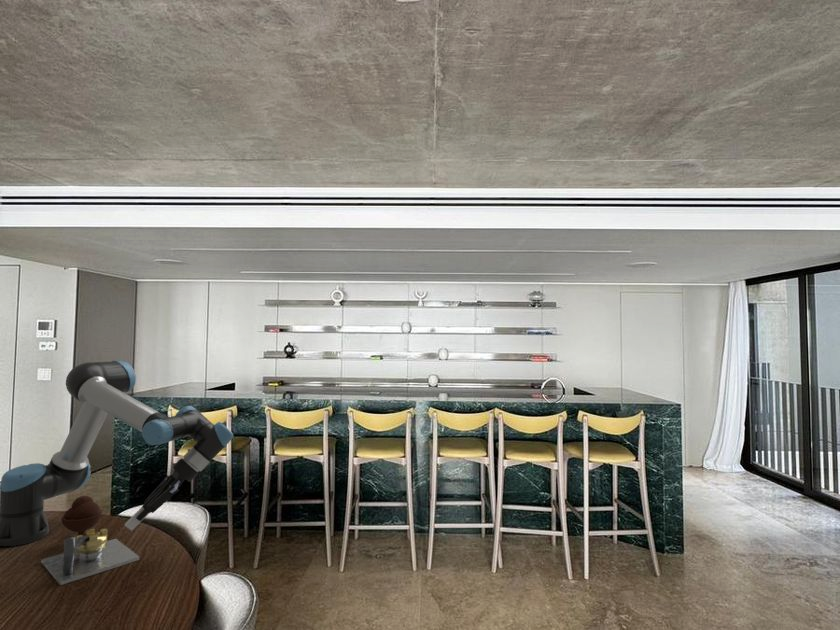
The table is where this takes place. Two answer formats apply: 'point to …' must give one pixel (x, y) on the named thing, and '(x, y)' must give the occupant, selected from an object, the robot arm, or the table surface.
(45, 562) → the mounting plate
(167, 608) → the table surface
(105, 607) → the table surface
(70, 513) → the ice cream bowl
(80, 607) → the table surface
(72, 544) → the multicoloured piece
